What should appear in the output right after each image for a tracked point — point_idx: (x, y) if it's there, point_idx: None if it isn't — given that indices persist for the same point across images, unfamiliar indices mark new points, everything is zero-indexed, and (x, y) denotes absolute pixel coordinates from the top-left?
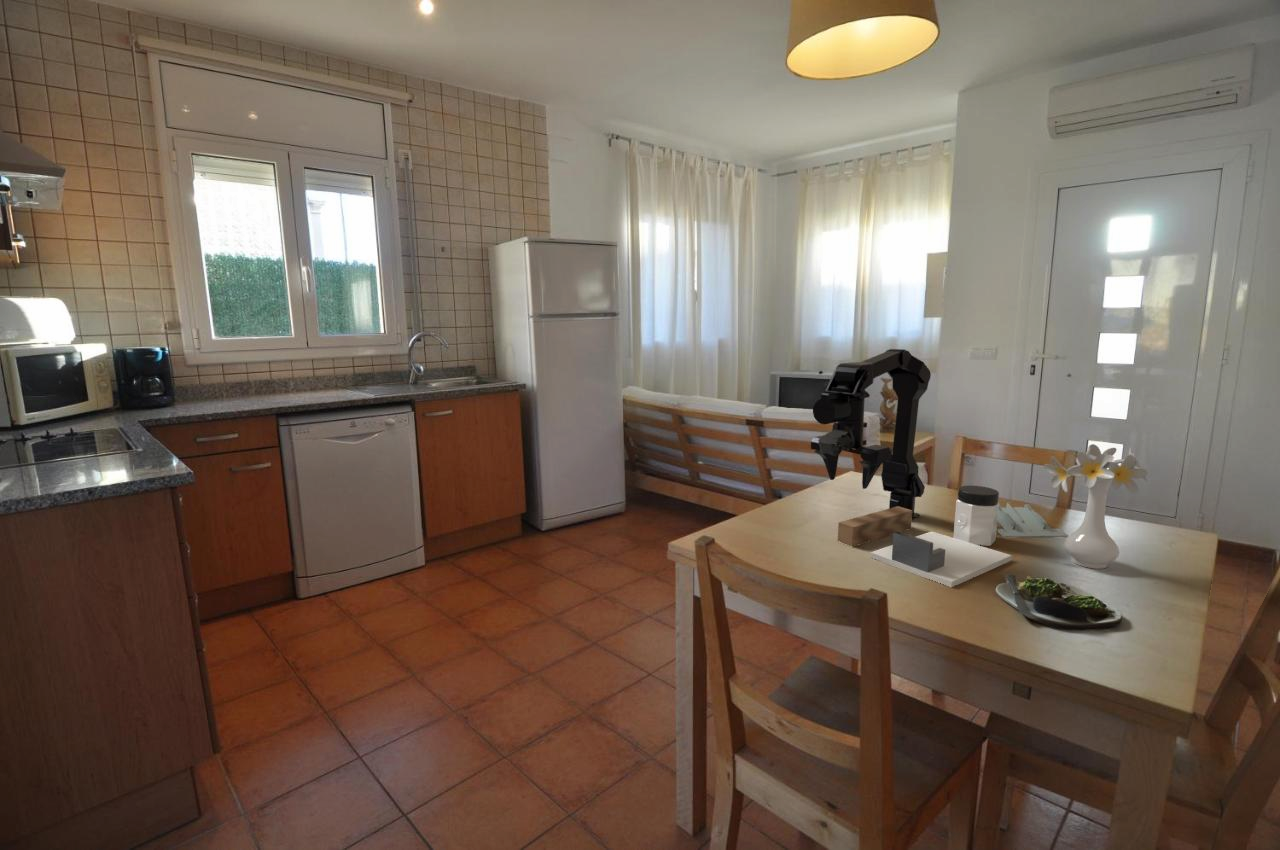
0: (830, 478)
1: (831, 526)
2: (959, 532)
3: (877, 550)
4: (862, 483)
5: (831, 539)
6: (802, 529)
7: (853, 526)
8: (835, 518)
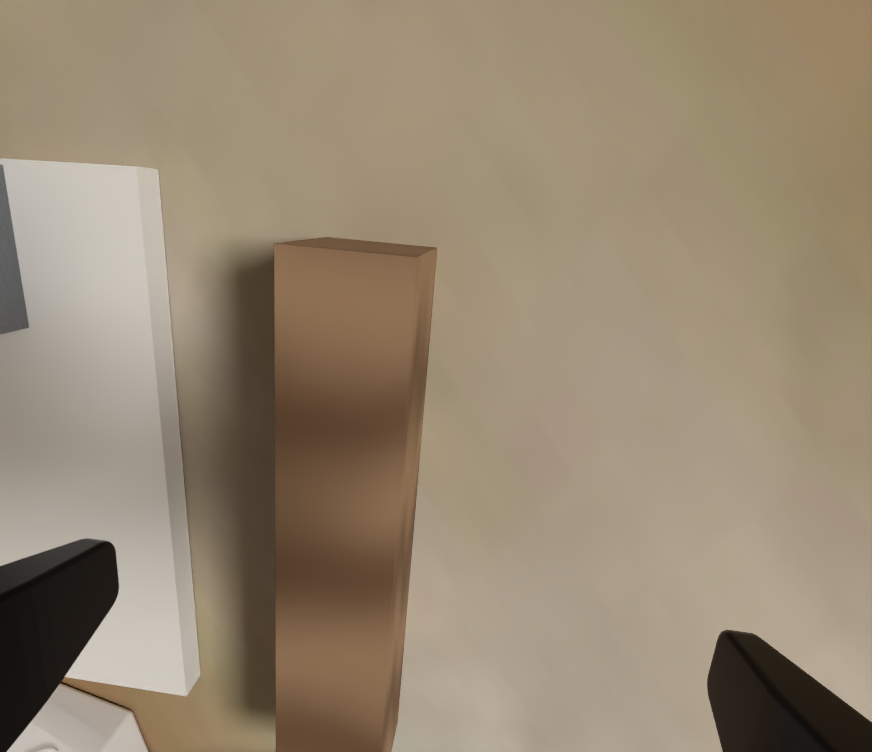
0: (754, 643)
1: (626, 458)
2: (73, 733)
3: (137, 231)
4: (35, 574)
5: (487, 252)
6: (744, 261)
7: (283, 264)
8: (689, 597)
